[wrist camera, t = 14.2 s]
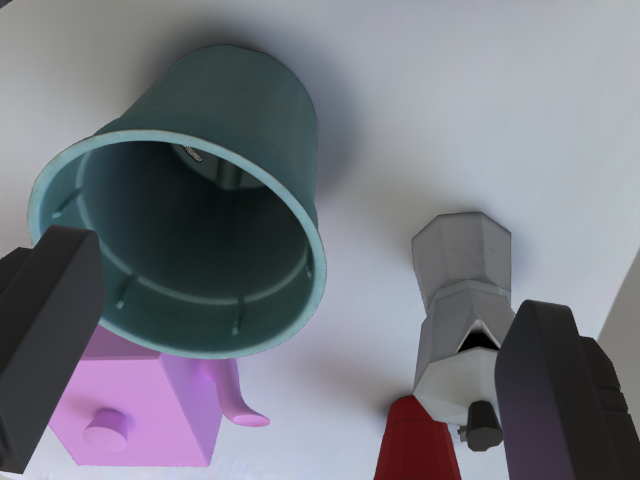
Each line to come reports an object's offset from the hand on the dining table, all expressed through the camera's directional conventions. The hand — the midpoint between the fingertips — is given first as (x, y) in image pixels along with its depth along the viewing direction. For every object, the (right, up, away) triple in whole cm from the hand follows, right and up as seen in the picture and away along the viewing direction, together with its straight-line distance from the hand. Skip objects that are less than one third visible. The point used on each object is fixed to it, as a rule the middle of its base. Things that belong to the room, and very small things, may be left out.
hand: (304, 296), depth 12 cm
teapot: (-15, -6, +49) cm, 52 cm away
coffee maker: (+12, -1, +41) cm, 43 cm away
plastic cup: (+11, -18, +55) cm, 59 cm away
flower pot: (-6, +10, +34) cm, 36 cm away
